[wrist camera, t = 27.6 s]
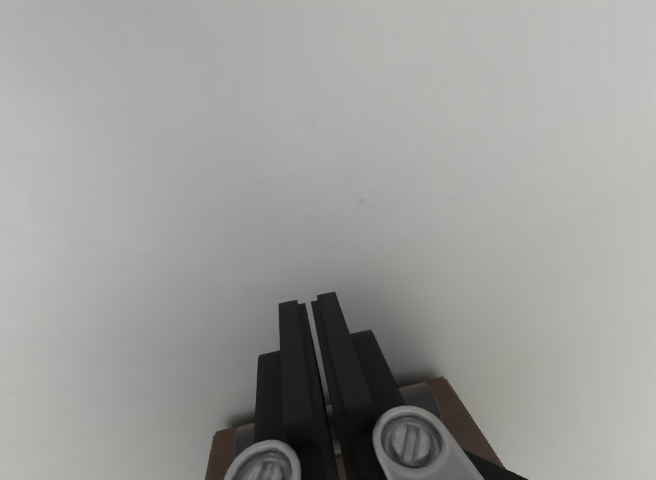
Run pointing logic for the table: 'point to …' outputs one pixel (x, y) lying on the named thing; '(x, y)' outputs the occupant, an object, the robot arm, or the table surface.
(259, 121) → the table surface
